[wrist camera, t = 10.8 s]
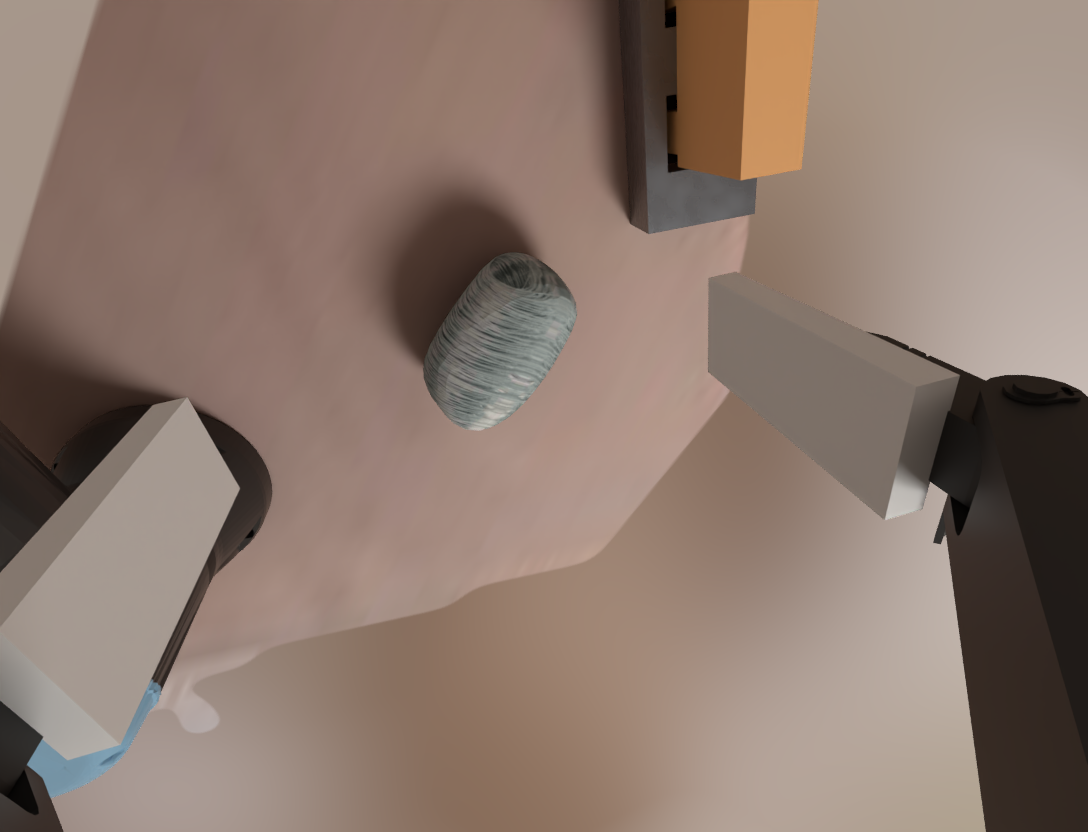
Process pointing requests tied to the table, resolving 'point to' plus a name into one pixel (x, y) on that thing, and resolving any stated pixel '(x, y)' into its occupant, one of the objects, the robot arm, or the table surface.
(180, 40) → the table surface
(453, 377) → the spool
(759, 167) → the wooden arch block
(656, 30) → the cinder block
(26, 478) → the robot arm
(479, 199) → the table surface
